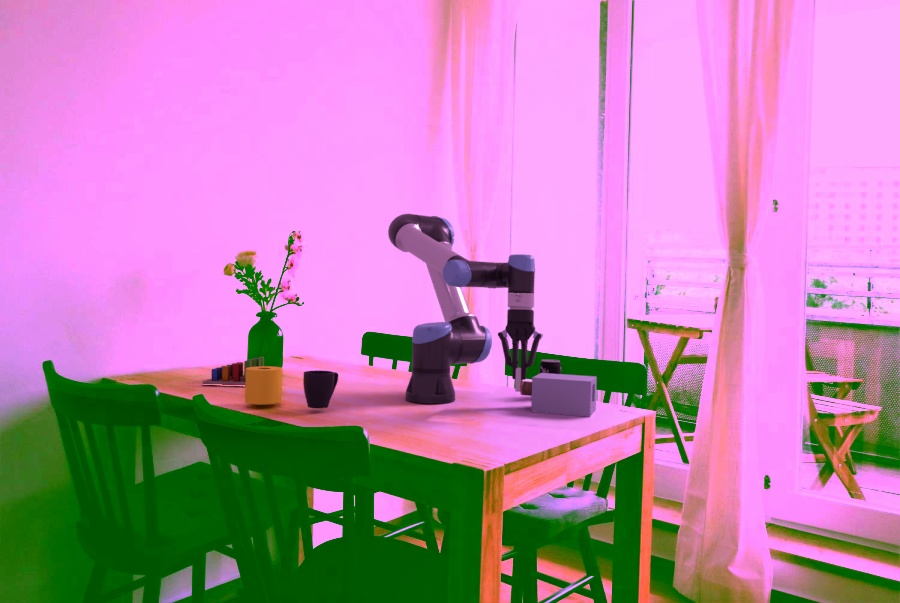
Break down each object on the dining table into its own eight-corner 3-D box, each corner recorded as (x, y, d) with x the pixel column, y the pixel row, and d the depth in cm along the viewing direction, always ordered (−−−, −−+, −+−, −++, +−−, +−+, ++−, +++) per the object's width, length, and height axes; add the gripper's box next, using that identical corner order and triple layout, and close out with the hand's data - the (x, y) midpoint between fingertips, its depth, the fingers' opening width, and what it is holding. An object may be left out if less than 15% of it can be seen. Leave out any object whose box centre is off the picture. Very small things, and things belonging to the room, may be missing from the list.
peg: (519, 396, 191) (520, 381, 191) (523, 394, 194) (523, 380, 194) (562, 399, 187) (562, 384, 187) (564, 397, 190) (565, 383, 190)
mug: (348, 404, 189) (348, 370, 189) (319, 410, 179) (320, 374, 179) (325, 401, 194) (326, 368, 194) (296, 407, 183) (297, 372, 183)
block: (531, 411, 186) (532, 377, 185) (540, 405, 197) (541, 372, 197) (589, 416, 180) (591, 381, 180) (595, 409, 192) (596, 376, 191)
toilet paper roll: (266, 397, 198) (266, 365, 198) (288, 401, 192) (289, 368, 192) (237, 401, 190) (238, 368, 190) (260, 405, 184) (261, 371, 184)
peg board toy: (224, 379, 238) (224, 355, 238) (272, 381, 236) (272, 356, 236) (201, 385, 221) (202, 359, 220) (253, 388, 219) (253, 361, 219)
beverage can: (559, 400, 206) (560, 361, 206) (538, 399, 208) (539, 360, 207) (560, 397, 213) (561, 359, 212) (539, 396, 214) (540, 358, 214)
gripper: (495, 308, 191) (493, 391, 191) (540, 309, 187) (538, 394, 187) (502, 308, 198) (500, 388, 198) (545, 309, 194) (544, 390, 194)
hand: (519, 390), depth 193 cm, fingers closed
